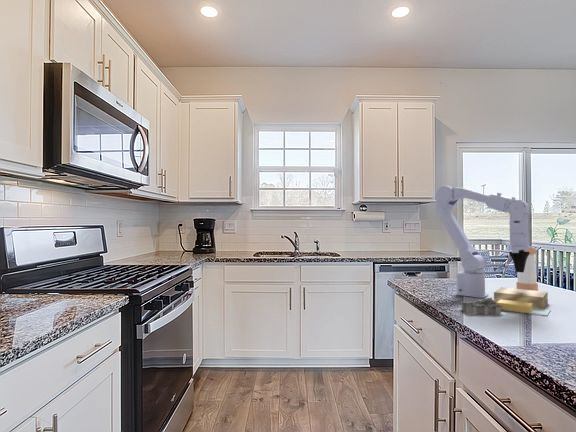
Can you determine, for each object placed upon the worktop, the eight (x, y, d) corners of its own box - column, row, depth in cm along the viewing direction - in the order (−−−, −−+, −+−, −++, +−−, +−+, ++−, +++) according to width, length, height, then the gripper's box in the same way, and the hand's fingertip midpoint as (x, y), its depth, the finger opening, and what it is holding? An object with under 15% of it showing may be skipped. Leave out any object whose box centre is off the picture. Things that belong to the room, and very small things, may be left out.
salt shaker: (542, 293, 145) (541, 244, 146) (523, 293, 145) (522, 244, 146) (530, 289, 152) (529, 243, 153) (512, 289, 153) (511, 243, 153)
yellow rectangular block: (500, 299, 123) (500, 305, 123) (496, 302, 119) (496, 308, 119) (532, 303, 118) (532, 309, 118) (529, 306, 113) (529, 313, 113)
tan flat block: (494, 303, 127) (493, 292, 127) (501, 298, 136) (501, 287, 136) (543, 309, 118) (542, 297, 118) (547, 303, 127) (547, 291, 127)
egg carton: (493, 310, 120) (493, 297, 120) (504, 315, 112) (504, 302, 112) (459, 309, 121) (459, 296, 121) (468, 315, 113) (467, 301, 113)
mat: (481, 307, 122) (481, 306, 122) (487, 302, 129) (487, 302, 129) (547, 316, 110) (547, 315, 110) (550, 310, 117) (550, 309, 117)
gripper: (528, 234, 123) (529, 275, 123) (536, 233, 134) (536, 270, 134) (504, 234, 128) (505, 273, 128) (513, 233, 139) (514, 269, 138)
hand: (519, 272), depth 131 cm, fingers closed
